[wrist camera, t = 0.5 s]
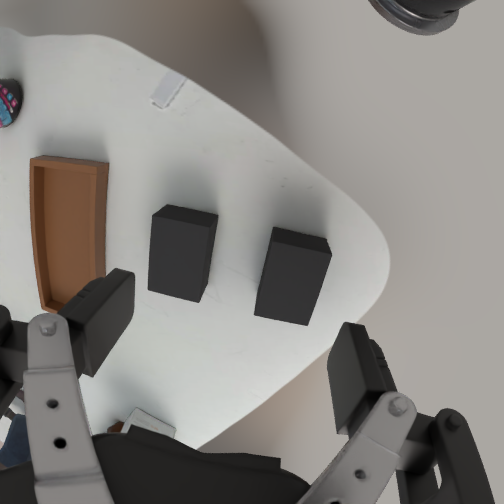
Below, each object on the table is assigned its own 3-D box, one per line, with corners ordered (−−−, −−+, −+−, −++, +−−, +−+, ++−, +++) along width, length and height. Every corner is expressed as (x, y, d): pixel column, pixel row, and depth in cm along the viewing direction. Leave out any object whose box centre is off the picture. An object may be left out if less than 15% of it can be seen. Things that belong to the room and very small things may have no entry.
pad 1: (166, 204, 31) (152, 215, 27) (218, 214, 31) (210, 227, 27) (160, 272, 34) (147, 290, 30) (207, 284, 34) (199, 303, 30)
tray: (43, 155, 30) (29, 158, 27) (109, 163, 30) (97, 166, 27) (50, 300, 38) (41, 309, 35) (108, 320, 38) (99, 331, 35)
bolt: (107, 439, 54) (126, 418, 48) (121, 456, 53) (142, 439, 47) (88, 448, 49) (103, 429, 43) (102, 467, 48) (119, 452, 42)
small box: (126, 418, 47) (106, 462, 37) (136, 406, 45) (114, 454, 35) (164, 439, 48) (149, 484, 38) (177, 429, 46) (162, 478, 36)
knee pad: (26, 425, 58) (-12, 486, 35) (-10, 373, 50) (-60, 438, 28) (72, 443, 56) (35, 517, 33) (35, 391, 49) (-20, 472, 26)
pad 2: (273, 226, 31) (272, 240, 27) (326, 238, 31) (332, 254, 27) (256, 294, 34) (253, 315, 30) (305, 305, 34) (307, 326, 30)
